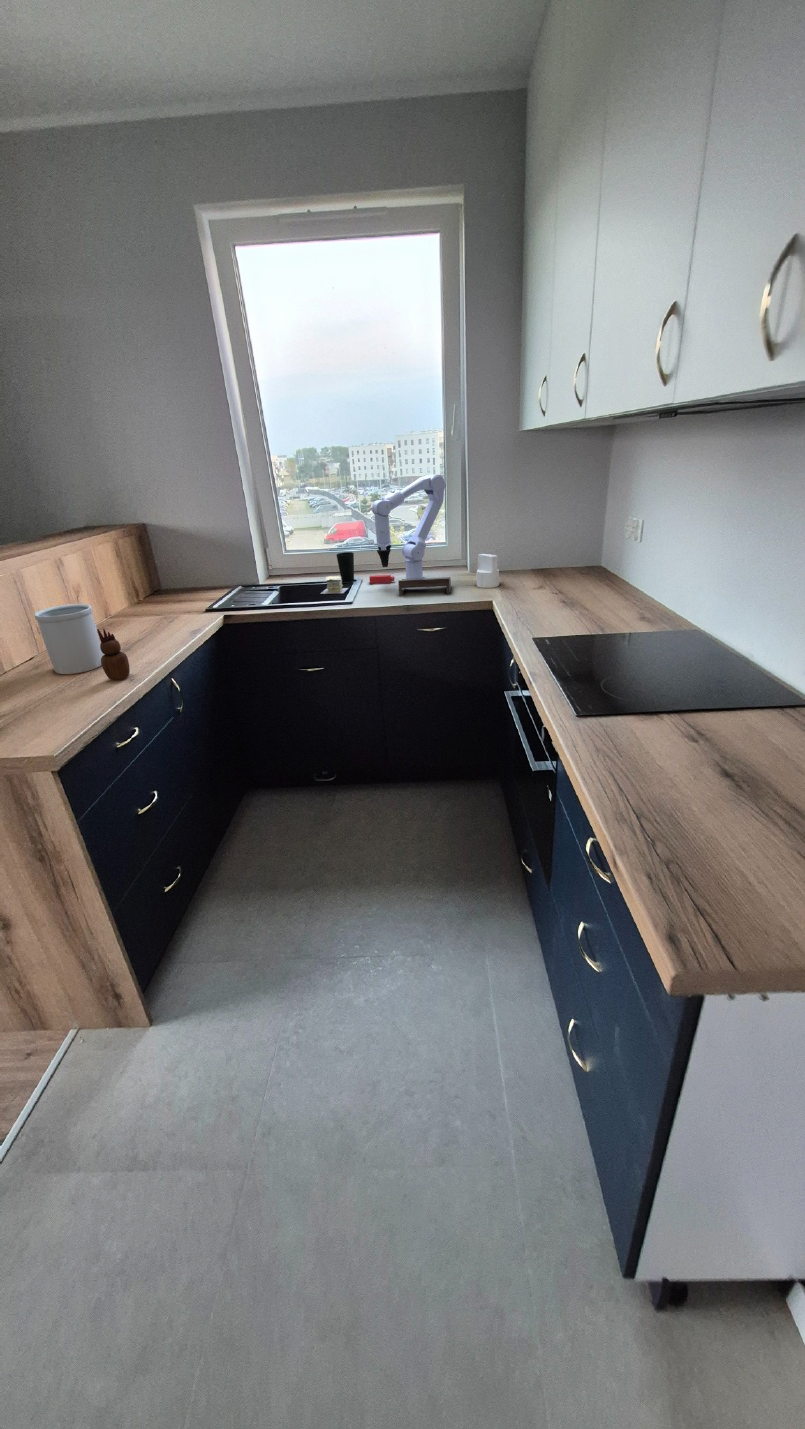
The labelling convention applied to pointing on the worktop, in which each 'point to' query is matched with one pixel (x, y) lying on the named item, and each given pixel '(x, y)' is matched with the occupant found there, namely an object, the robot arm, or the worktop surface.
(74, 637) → the utensil holder
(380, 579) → the crayon
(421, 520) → the robot arm
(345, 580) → the cup
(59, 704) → the worktop surface
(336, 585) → the stacked layers on plate
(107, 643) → the wooden figurine
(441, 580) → the shelf
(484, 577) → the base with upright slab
